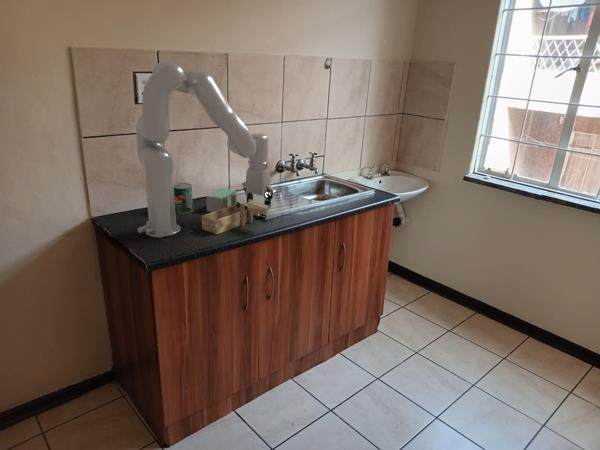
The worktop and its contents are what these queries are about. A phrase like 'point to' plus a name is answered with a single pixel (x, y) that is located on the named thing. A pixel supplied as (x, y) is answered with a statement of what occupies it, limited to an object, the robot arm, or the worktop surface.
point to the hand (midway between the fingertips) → (258, 206)
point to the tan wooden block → (258, 208)
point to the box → (219, 199)
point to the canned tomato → (183, 198)
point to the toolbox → (227, 217)
